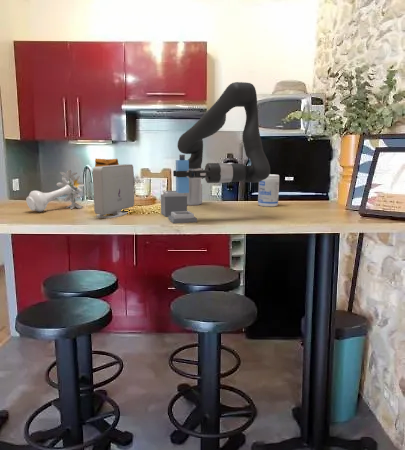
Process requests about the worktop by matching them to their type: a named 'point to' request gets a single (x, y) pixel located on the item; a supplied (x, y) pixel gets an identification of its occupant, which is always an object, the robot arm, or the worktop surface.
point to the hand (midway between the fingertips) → (175, 173)
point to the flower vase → (57, 193)
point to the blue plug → (182, 182)
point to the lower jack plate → (182, 217)
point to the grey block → (173, 202)
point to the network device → (113, 189)
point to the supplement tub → (269, 191)
